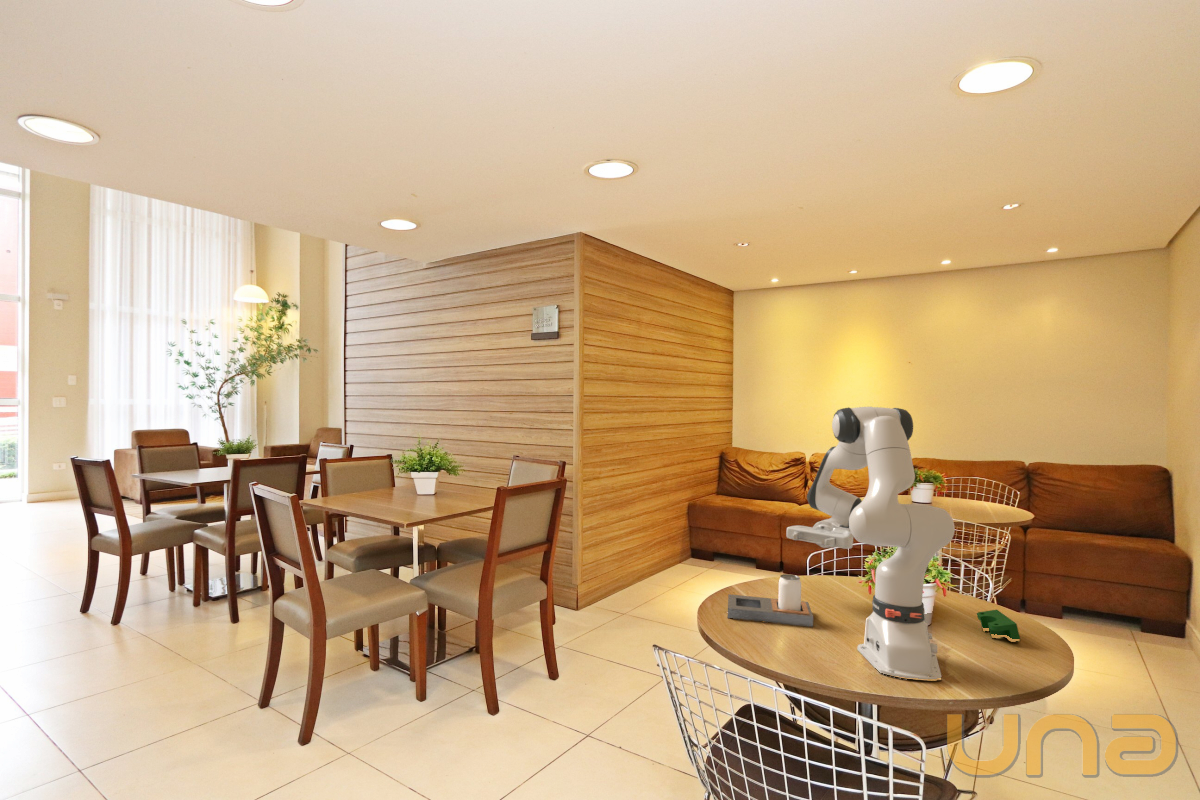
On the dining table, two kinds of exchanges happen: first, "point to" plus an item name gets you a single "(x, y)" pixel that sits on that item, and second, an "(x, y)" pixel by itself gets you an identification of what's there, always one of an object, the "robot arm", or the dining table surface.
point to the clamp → (998, 623)
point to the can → (789, 592)
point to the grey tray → (767, 611)
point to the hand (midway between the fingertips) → (808, 540)
